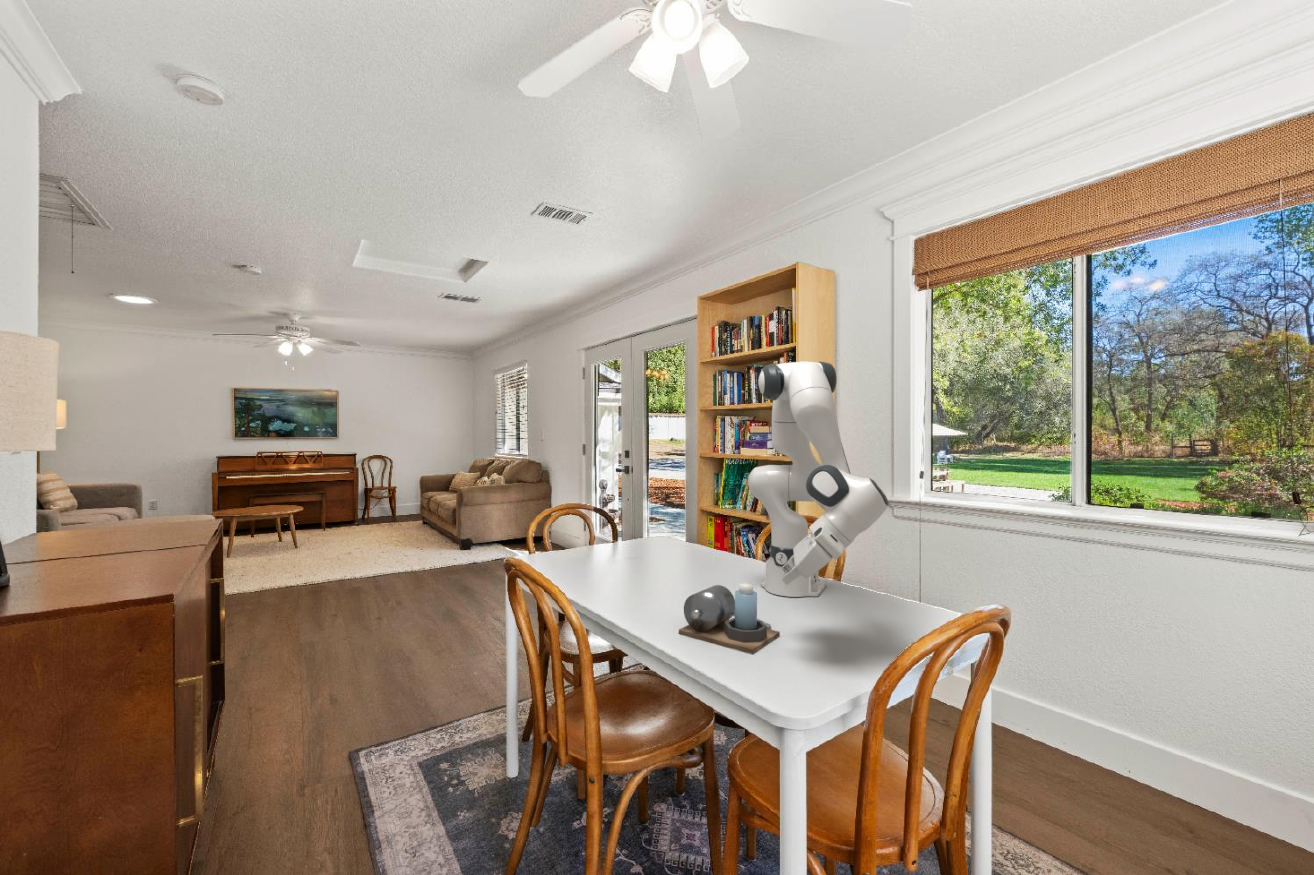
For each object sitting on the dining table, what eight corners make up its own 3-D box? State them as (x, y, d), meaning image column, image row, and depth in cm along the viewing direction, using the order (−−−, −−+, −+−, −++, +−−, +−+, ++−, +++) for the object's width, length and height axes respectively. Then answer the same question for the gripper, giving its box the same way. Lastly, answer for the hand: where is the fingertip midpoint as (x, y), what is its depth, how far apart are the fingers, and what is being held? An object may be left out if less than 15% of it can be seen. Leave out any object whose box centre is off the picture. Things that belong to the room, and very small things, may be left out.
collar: (737, 625, 138) (738, 615, 138) (771, 633, 133) (771, 623, 133) (718, 636, 131) (719, 625, 131) (753, 645, 125) (754, 634, 125)
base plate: (709, 618, 146) (709, 614, 146) (779, 635, 134) (779, 631, 134) (678, 633, 135) (678, 629, 135) (752, 654, 123) (752, 649, 123)
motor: (705, 616, 145) (705, 582, 145) (735, 624, 139) (735, 588, 139) (678, 629, 135) (679, 592, 135) (710, 638, 130) (710, 599, 130)
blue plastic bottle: (741, 629, 136) (741, 580, 136) (760, 634, 132) (761, 584, 132) (730, 635, 132) (731, 584, 131) (750, 640, 128) (750, 588, 128)
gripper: (815, 519, 138) (774, 556, 141) (821, 534, 118) (773, 577, 121) (833, 538, 137) (792, 574, 140) (842, 556, 117) (794, 599, 120)
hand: (784, 576), depth 130 cm, fingers open, 8 cm apart
